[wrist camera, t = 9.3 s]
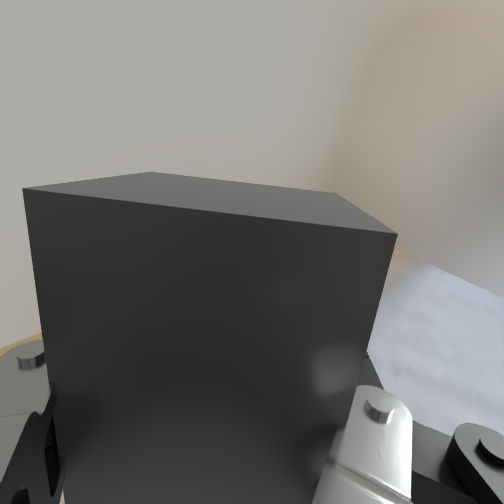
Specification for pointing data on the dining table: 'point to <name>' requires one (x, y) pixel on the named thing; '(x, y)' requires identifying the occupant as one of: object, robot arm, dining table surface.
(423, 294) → the dining table surface
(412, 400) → the dining table surface
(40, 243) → the block
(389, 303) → the dining table surface
